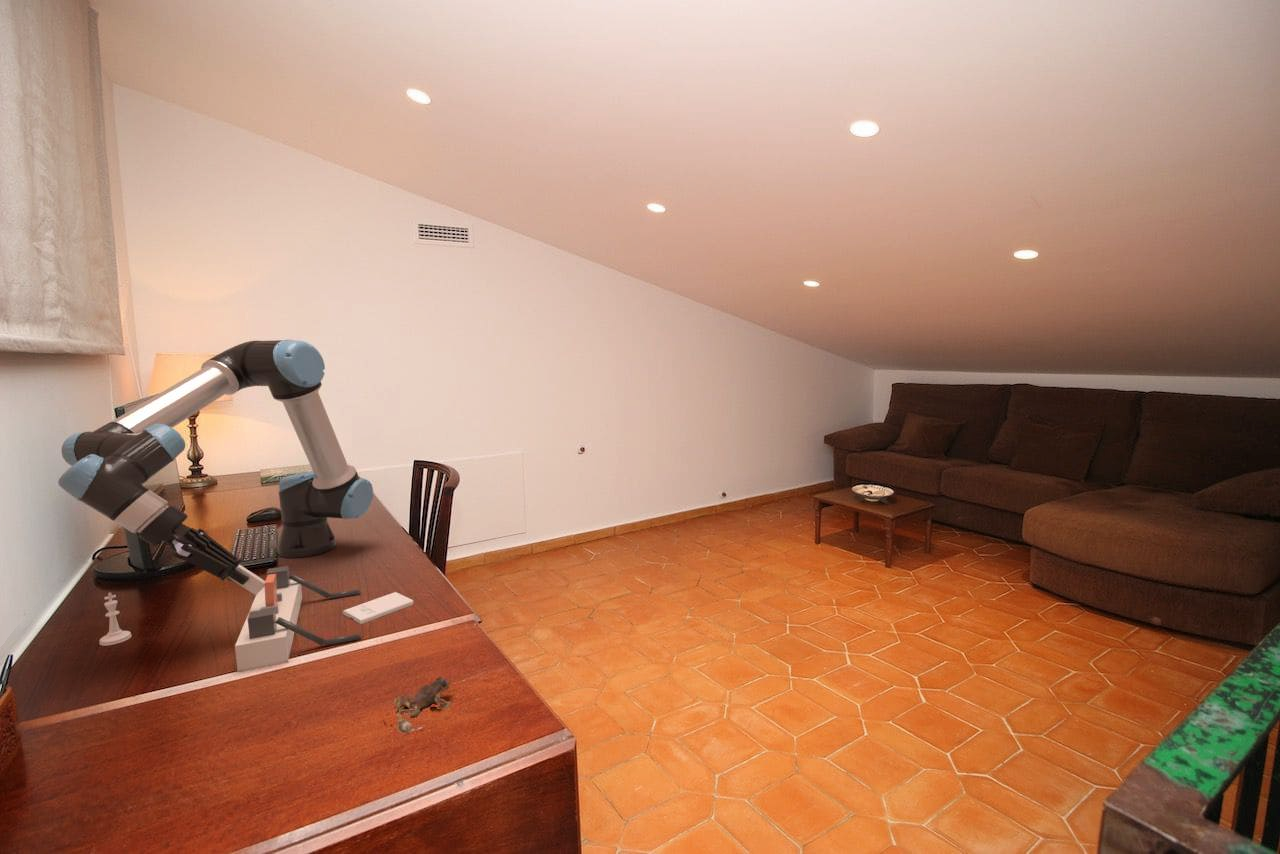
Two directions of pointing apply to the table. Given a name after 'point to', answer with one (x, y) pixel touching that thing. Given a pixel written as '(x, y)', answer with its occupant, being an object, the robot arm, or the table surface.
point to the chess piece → (113, 625)
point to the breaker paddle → (271, 590)
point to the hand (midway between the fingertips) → (261, 588)
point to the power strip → (279, 623)
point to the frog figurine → (421, 702)
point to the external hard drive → (378, 607)
